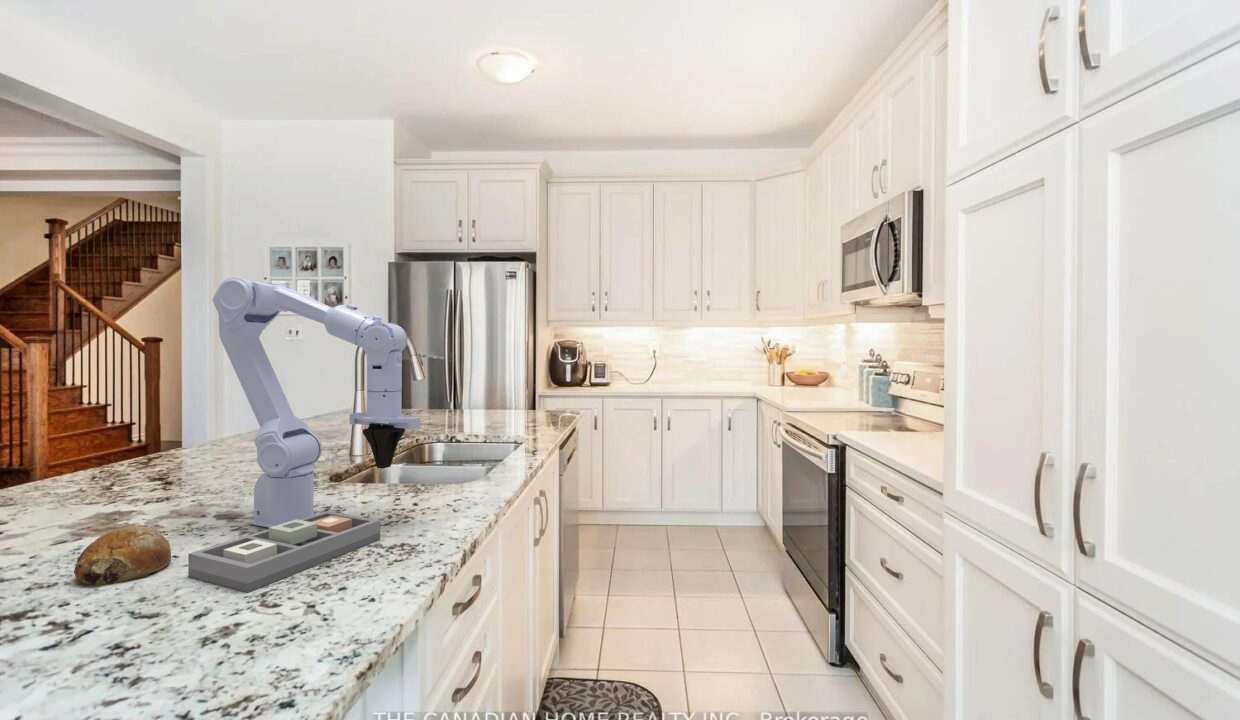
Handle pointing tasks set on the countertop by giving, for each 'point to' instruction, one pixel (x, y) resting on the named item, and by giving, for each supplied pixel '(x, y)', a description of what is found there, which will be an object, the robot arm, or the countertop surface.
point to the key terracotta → (334, 523)
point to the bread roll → (123, 556)
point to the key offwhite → (251, 551)
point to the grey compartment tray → (280, 555)
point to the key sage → (293, 532)
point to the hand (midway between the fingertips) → (383, 467)
